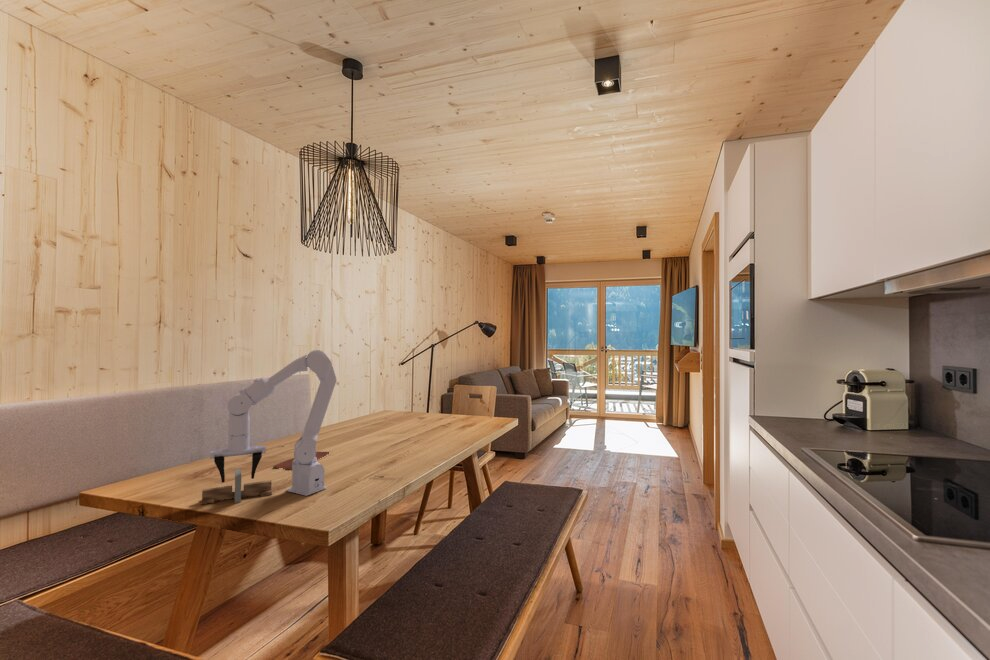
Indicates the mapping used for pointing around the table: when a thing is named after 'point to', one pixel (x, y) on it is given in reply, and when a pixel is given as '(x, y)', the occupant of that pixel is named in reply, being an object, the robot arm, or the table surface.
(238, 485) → the grey long rectangular block
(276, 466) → the wooden tablet
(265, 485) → the walnut slotted stand
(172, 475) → the table surface
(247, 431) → the robot arm
